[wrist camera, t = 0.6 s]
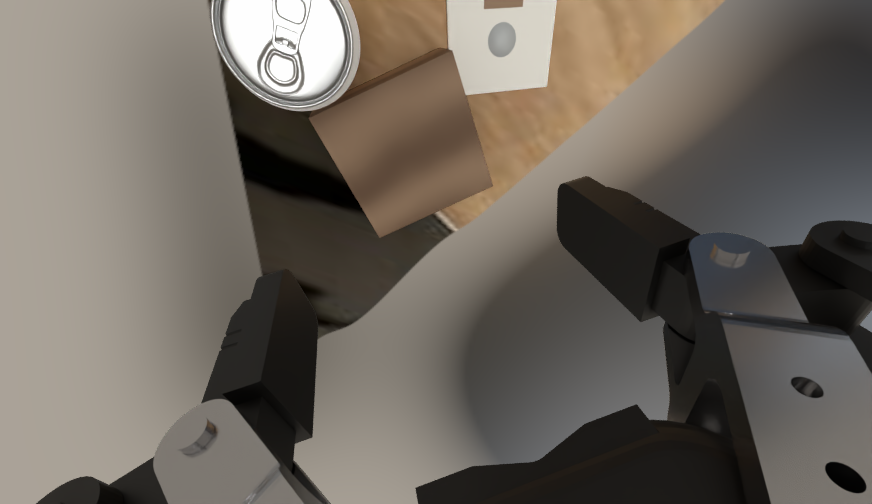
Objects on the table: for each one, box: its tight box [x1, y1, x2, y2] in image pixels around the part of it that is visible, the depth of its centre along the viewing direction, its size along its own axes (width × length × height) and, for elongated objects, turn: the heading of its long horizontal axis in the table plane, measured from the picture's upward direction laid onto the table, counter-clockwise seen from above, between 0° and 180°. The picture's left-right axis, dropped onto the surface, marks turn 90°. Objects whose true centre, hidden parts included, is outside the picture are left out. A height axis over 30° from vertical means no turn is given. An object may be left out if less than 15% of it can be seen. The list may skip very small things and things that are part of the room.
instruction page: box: [446, 0, 557, 95], centre depth 26 cm, size 12×9×1 cm
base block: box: [309, 48, 493, 238], centre depth 28 cm, size 11×11×4 cm
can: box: [210, 0, 360, 111], centre depth 19 cm, size 6×6×12 cm
